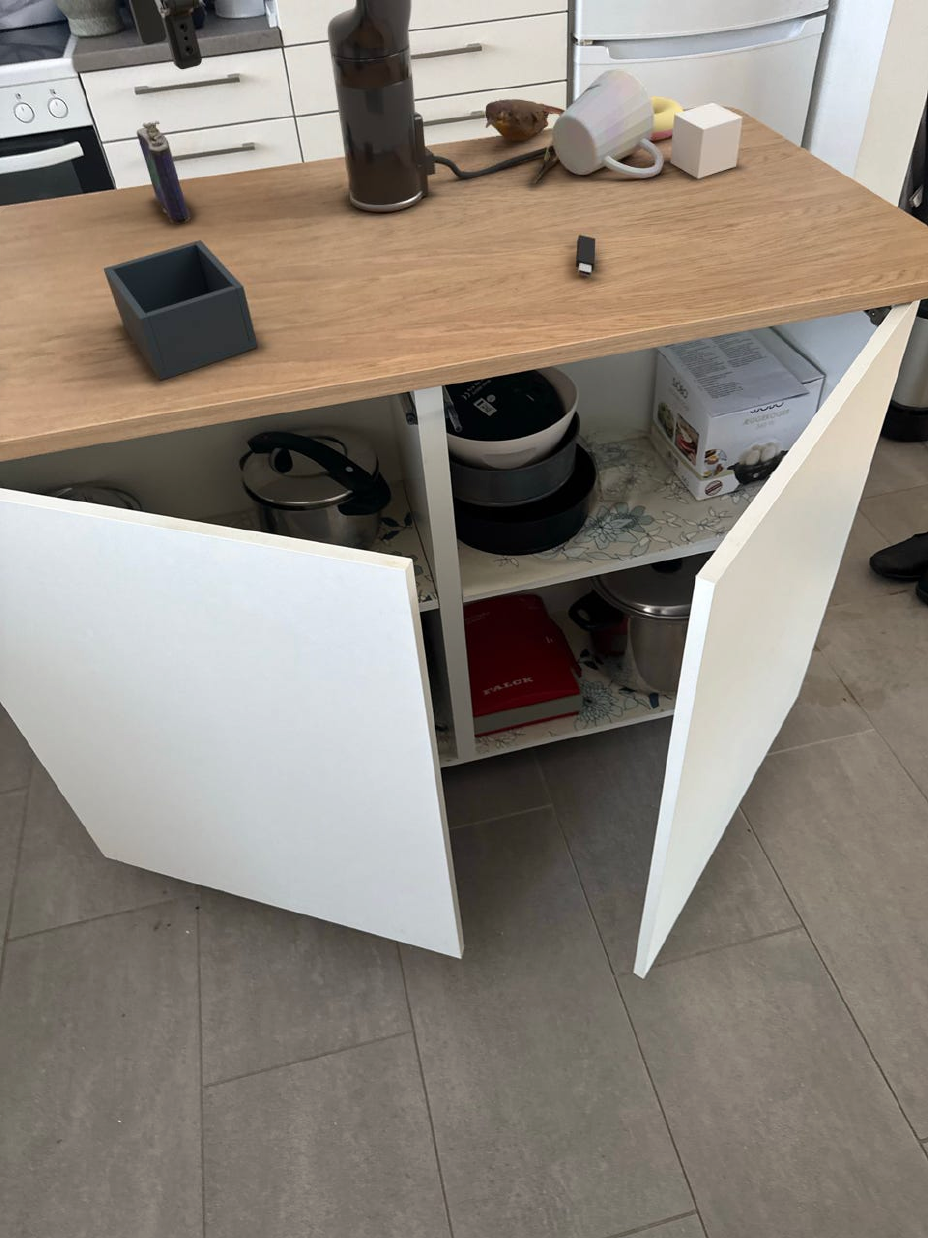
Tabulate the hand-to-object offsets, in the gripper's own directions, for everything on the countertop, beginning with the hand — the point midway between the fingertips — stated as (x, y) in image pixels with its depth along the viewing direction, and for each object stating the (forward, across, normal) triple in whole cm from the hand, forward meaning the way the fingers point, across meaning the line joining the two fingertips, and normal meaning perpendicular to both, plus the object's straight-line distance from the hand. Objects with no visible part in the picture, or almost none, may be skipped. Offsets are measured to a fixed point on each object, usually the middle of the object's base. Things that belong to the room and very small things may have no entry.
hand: (171, 53), depth 80 cm
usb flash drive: (+26, -9, -38) cm, 47 cm away
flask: (+27, +35, -5) cm, 45 cm away
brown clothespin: (+28, +15, -50) cm, 59 cm away
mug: (+25, +8, -51) cm, 57 cm away
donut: (+27, +11, -69) cm, 75 cm away
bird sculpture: (+28, +26, -53) cm, 65 cm away
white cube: (+21, 0, -65) cm, 68 cm away
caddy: (+27, +3, +5) cm, 27 cm away
